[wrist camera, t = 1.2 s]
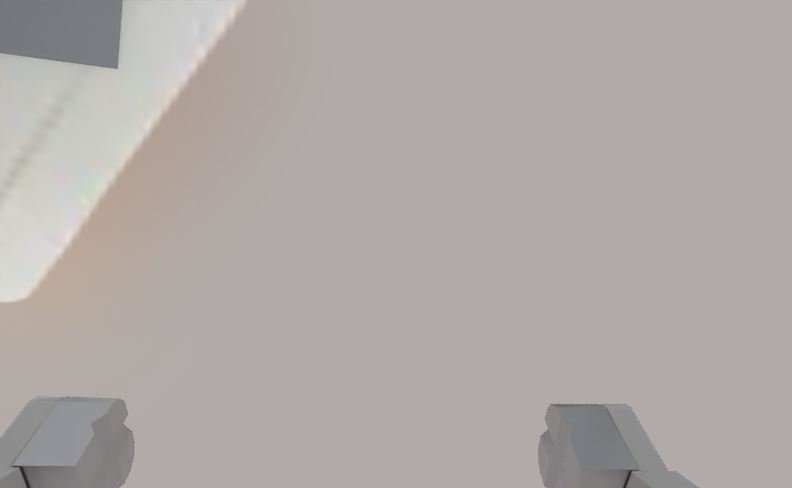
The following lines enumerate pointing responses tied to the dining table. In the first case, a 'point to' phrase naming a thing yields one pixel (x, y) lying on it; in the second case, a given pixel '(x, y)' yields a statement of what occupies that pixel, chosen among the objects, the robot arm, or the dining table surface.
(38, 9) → the mat
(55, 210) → the dining table surface
